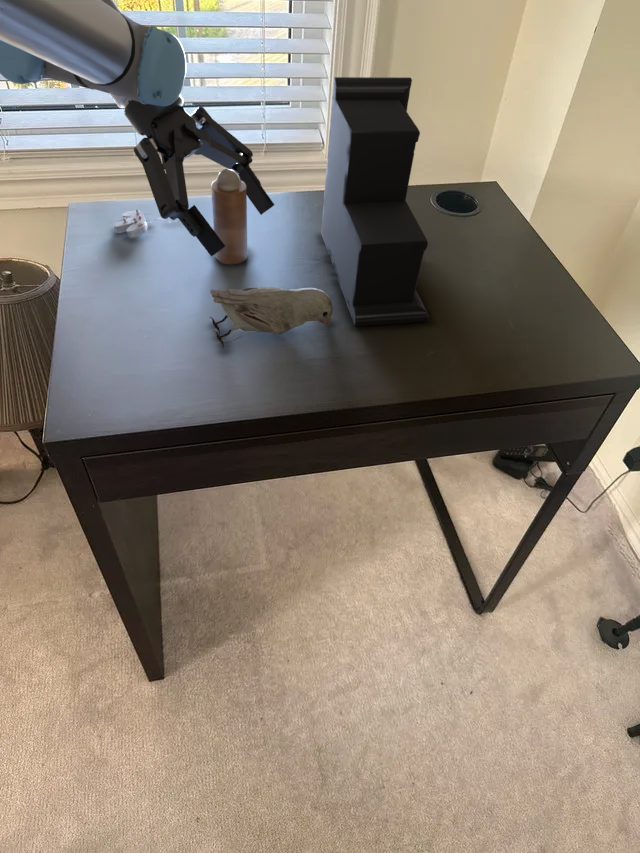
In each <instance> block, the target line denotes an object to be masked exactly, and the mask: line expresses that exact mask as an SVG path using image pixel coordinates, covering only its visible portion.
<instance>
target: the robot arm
mask: <svg viewBox="0 0 640 853" xmlns="http://www.w3.org/2000/svg"><path fill="white" fill-rule="evenodd" d="M0 75H1V76H2V77H3V78H4V79H6V80H7V81H9V82H11V83H13V84H16V85H27V84H30V83H31V84H36V83H39V82H41V81H42V80H43V79H44V80H45V79H50V80H54V81H58V82H61V83H65V84H69V85H73V86H78V87H80V88H85V89H89V90H92V91H93V90H94V91H95V90H96V91H99V92H102V93H106V94H108V95H109V96H110V98H111V99H112V100H113V101H114V102H113V103H115V104H116V106H117V107H118V108H120V109H124V111H123V112H124V116H125V117H126V119H127V120H128V122H129V123H130V124H131V125H132V127H133V128H134V129H135V131H136V132H137V134H139V136H142V137H143V138H142V139H141V140H140V141H139V142H138V143H137V144H136V145H135V147H133V152H134V154H135V156H136V157H137V159H138V160H139V162H140V163H141V165H142V167H143V170H144V173H145V176H146V179H147V182H148V184H149V188H150V190H151V193H152V195H153V199H154V201H155V205H156V207H157V211H158V213H159V216H160V217H161V218H162V220H166V219H167V220H168V219H171V220H172V221H175V220H177V219H178V221H179V222H181V224H182V225H183V226H184V228H185V229H186V231H187V232H188V233H189V234H190V235H191V236H192V237H193V238H196V239H197V240H198V242H200V244H201V245H202V247H203V248H204V249H205V251H206V252H207V253H208V255H210V257H211V258H212V257H213V256H215V254H216V253H217V252H218V251H220V250H221V249H223V248H224V247H225V245H224V243H223V242H222V241H221V239H220V238H219V237H218V235H217V234H216V233H215V231H214V228H213V226H211V225H210V223H209V222H208V221H207V219H206V218H205V217H204V215H203V214H202V212H201V211H200V210H199V209H198V207H197V206H196V205H195V204H194V205H192V206H190V204H189V198H188V192H187V191H188V190H187V182H186V177H185V169H184V160H185V159H186V158H190V157H192V156H193V155H197V156H199V155H201V156H203V157H205V158H207V159H209V160H210V161H213V162H214V163H216V164H218V165H220V166H222V167H223V168H225V169H232V170H234V171H235V172H236V173H237V174H238V175H239V177H240V180H241V181H243V182H244V183H245V184H246V196H247V198H248V199H249V201H250V202H251V204H252V205H253V206H254V208H255V209H256V211H257V212H258V213H259V214H260V215H261V216H262V215H263V214H265V213H266V212H267V211H269V210H270V209H271V208H273V207H274V206H275V203H274V202H273V200H272V198H270V196H269V194H268V193H267V192H266V191H265V189H264V188H263V186H262V183H261V181H260V179H259V178H258V176H257V175H256V173H255V172H254V170H253V169H252V168H251V166H250V164H251V163H253V158H252V157H253V156H254V154H253V151H252V150H251V149H250V148H248V147H247V145H245V144H244V143H243V142H241V141H240V140H239V139H238V138H236V137H235V136H234V135H233V134H232V133H230V132H229V131H228V130H227V129H225V128H224V127H223V126H222V125H220V123H219V122H217V121H216V120H215V119H213V117H212V116H211V115H210V114H209V113H208V111H207V110H206V108H204V107H203V106H202V105H201V106H200V105H199V106H198V107H197V108H196V109H195V110H194V111H193V113H191V114H189V113H188V112H187V111H186V110H185V108H184V98H183V97H182V95H181V94H182V92H183V89H184V86H185V79H186V75H187V58H186V54H185V50H184V47H183V45H182V43H181V41H180V40H179V38H178V37H177V36H176V35H175V34H173V33H171V32H170V31H166V30H163V29H159V28H158V27H157V26H156V25H151V26H149V25H148V26H147V25H144V24H141V23H138V22H136V21H134V20H133V19H131V18H130V17H128V16H127V15H125V14H124V13H122V11H121V10H120V9H119V7H118V6H117V4H116V2H115V1H114V0H0ZM160 155H161V156H160ZM189 206H190V207H189Z"/></svg>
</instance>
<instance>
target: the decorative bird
mask: <svg viewBox="0 0 640 853" xmlns="http://www.w3.org/2000/svg"><path fill="white" fill-rule="evenodd" d="M209 292H210V295H211V297H212V298H213V302H214V303H215V304H220V305H221V308H222V310H224V312H225V316H224V317H223V318H222V319H221V320H219V321H217V322H216V321H215V319H214V318H213V317H211V316H209V319H211V321H212V325H213V327H214V328H215V329H216V330H217V331H216V330H214V329H213V330H212V331H213V332H214V333H215V334H216V339H217V340H218V342H220V343H221V345H222V347H223V348H222V349H223V350H225V343H224V342H225V341H224V340H223V339H222V338H225V337H227V336H230V334H231V333H232V332H233V331H236V330H241V331H243V332H254V333H268V334H272V335H282V334H285V333H287V332H288V331H290V330H292V329H295V328H296V327H300V326H302V325H304V324H305V323H306V322H319V323H321V324H324V325H327V326H328V325H329V324H330V322H331V320H332V316H333V310H334V308H333V303H332V300H331V298H330V296H329V295H328V294H327V293H326V291H323V290H322V289H319V288H315V287H301V288H296V289H290V288H289V289H287V288H282V287H272V286H270V287H268V286H267V287H247V288H241V289H234V288H226V289H211V290H210V291H209ZM228 318H229V321H231V323H232V324H233V326H231V327H230V328H229V330H228V331H226V333H224V334H222V335H220V334H221V330H220V327H219V326H218V325H220V324H222V323H224V322H225V321H226V320H227V319H228Z"/></svg>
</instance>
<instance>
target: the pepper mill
mask: <svg viewBox="0 0 640 853" xmlns="http://www.w3.org/2000/svg"><path fill="white" fill-rule="evenodd" d="M238 174H239V173H236V172H235V171H234V170H232V169H228V168H224V169H222V170H221V171H220V172H219V173H218V174H217V176H216V179H215V180H213V181H212V183H211V184H210V188H211V189H210V190H211V191H210V192H211V207H212V209H211V210H212V225H213V226H212V227H213V230H214V231H215V233H216V234H217V235H218V237H219V238H220V239H221V241H222V242H223V243H224V245H225V247H224V248H223V249H221V250H220V251H218V252H217V253H216V254H214V256H215V259H216V260H217V261H218V262H219V263H221V264H224V265H238V264H241V263H244V262H245V261H246V260H247V259H248V253H249V252H248V206H247V201H248V200H247V198H248V196H247V195H246V184H245V183H244V182H243V181H241V180H240V177H239V175H238Z"/></svg>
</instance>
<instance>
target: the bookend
mask: <svg viewBox="0 0 640 853" xmlns="http://www.w3.org/2000/svg"><path fill="white" fill-rule="evenodd" d="M412 82H413V79H412V78H411V77H410V76H409V77H406V76H405V77H404V76H403V77H388V76H387V77H386V76H385V77H384V76H382V77H379V76H378V77H373V76H371V77H370V76H369V77H363V76H361V77H359V76H342V77H341V76H339V77H338V76H337V77H333V85H332V87H333V88H332V98H331V108H330V109H331V110H330V123H329V132H328V133H329V134H328V146H327V156H326V157H327V158H326V168H325V169H326V170H325V182H324V193H323V206H322V215H321V216H322V217H321V230H320V231H321V232H320V233H321V237H322V240H323V243H324V245H325V248H326V251H327V254H328V256H329V260H330V262H331V266H332V268H333V270H334V274H335V277H336V279H337V283H338V284H339V287H340V289H341V292H342V296H343V298H344V301H345V303H346V307H347V309H348V312H349V314H350V318H351V320H352V322H353V324H354V327H363V326H364V327H368V326H381V325H393V324H394V325H395V324H410V323H422V322H424V323H425V322H428V321H429V318H430V317H429V314H428V312H427V311H428V310H427V309H426V306H425V305H424V303H423V302H422V299H421V297H420V295H419V292H418V290H417V289H416V288H417V285H418V280H419V276H420V271H421V267H422V262H423V259H424V254H425V251H426V250H427V248H428V245H429V241H428V238H427V236H426V235H425V233H424V231H423V230H422V228H421V226H420V224H419V222H418V221H417V219H416V216H415V215H414V213H413V212H412V210H411V207H410V206H409V204H408V202H407V195H408V189H409V184H410V179H411V173H412V168H413V162H414V158H415V157H414V156H415V151H416V147H417V146H416V144H417V143H418V142H419V138H420V135H421V131H420V129H419V128H418V126H417V125H416V123H415V122H414V121H413V119H412V117H411V116H410V114H409V113H408V105H409V100H410V93H411V88H412Z"/></svg>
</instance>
